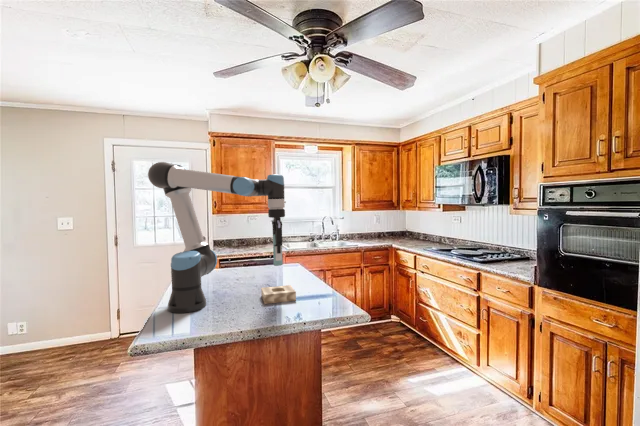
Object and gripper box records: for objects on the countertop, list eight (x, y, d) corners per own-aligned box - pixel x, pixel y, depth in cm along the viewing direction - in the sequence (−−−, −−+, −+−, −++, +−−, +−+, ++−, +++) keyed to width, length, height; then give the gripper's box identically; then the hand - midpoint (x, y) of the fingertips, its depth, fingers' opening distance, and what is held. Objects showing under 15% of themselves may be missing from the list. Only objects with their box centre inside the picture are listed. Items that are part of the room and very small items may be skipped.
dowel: (274, 266, 143) (273, 235, 142) (273, 264, 147) (272, 234, 146) (283, 265, 144) (282, 234, 144) (281, 263, 148) (280, 234, 147)
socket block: (264, 303, 138) (264, 294, 138) (261, 296, 150) (261, 287, 150) (295, 300, 142) (295, 291, 142) (290, 293, 154) (290, 285, 154)
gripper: (288, 208, 138) (289, 262, 138) (281, 208, 154) (282, 256, 155) (270, 209, 135) (272, 263, 136) (265, 208, 152) (267, 257, 152)
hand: (277, 259), depth 145 cm, fingers closed on dowel, 4 cm apart
